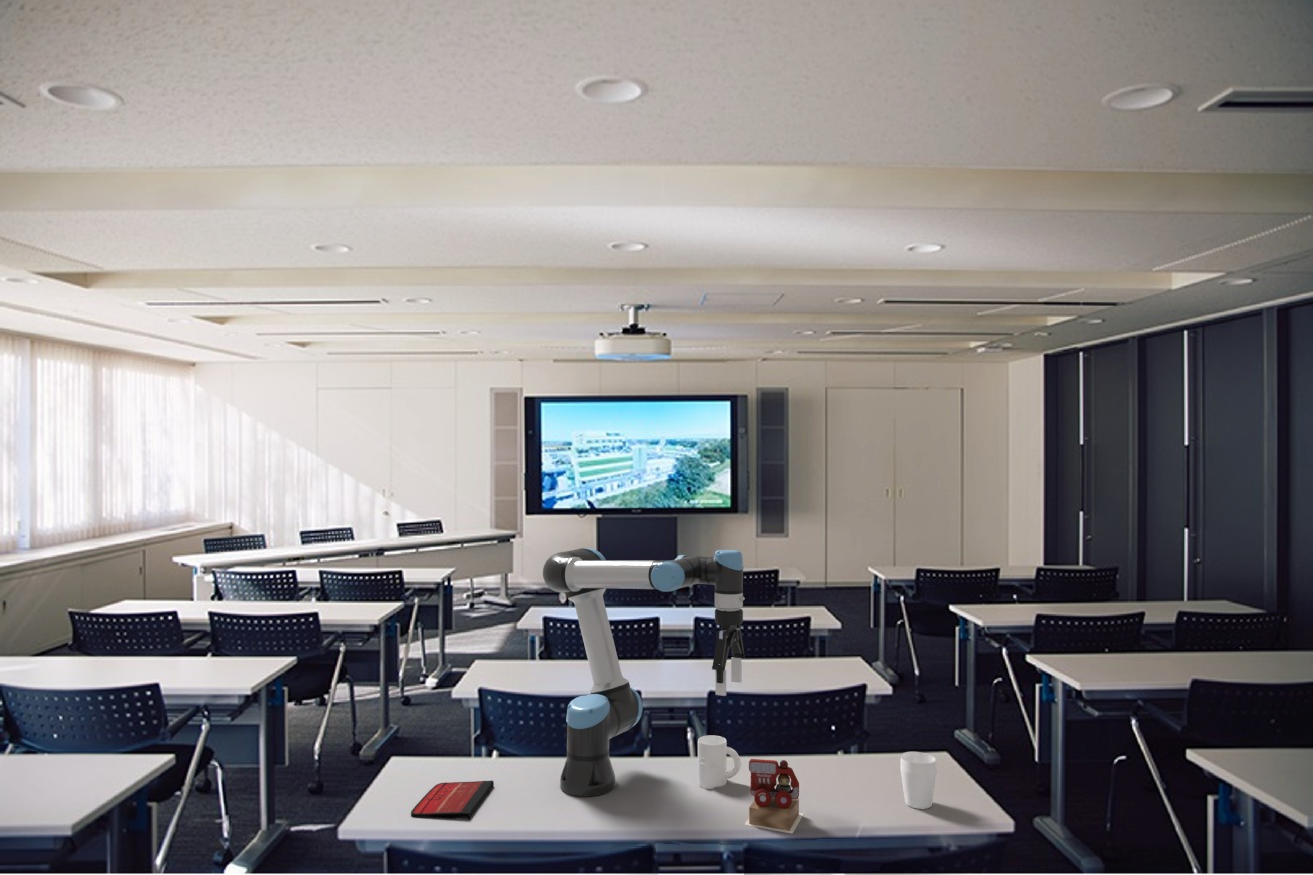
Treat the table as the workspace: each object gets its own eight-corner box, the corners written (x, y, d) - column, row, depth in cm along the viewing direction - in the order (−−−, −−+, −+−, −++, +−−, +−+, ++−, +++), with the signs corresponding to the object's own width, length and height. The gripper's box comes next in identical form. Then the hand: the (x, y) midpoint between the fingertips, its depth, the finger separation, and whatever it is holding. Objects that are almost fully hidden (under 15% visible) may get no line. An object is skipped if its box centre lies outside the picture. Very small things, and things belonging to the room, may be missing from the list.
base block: (749, 823, 203) (749, 807, 203) (760, 807, 212) (760, 791, 212) (789, 830, 199) (789, 813, 199) (798, 814, 208) (798, 798, 208)
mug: (740, 791, 224) (740, 746, 224) (696, 788, 226) (696, 744, 226) (741, 779, 232) (741, 736, 232) (699, 777, 234) (699, 734, 234)
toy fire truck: (799, 810, 201) (799, 766, 202) (748, 806, 203) (748, 763, 204) (799, 798, 208) (798, 756, 209) (749, 795, 210) (749, 753, 210)
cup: (936, 799, 219) (936, 753, 219) (936, 813, 211) (936, 765, 211) (901, 794, 222) (901, 749, 222) (899, 808, 214) (899, 761, 214)
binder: (493, 779, 227) (469, 812, 206) (494, 788, 227) (470, 821, 206) (437, 779, 229) (407, 812, 208) (437, 788, 229) (408, 822, 208)
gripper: (728, 617, 209) (728, 702, 208) (755, 601, 232) (755, 678, 231) (700, 615, 212) (699, 699, 211) (729, 599, 235) (729, 675, 234)
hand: (728, 688), depth 221 cm, fingers open, 13 cm apart
